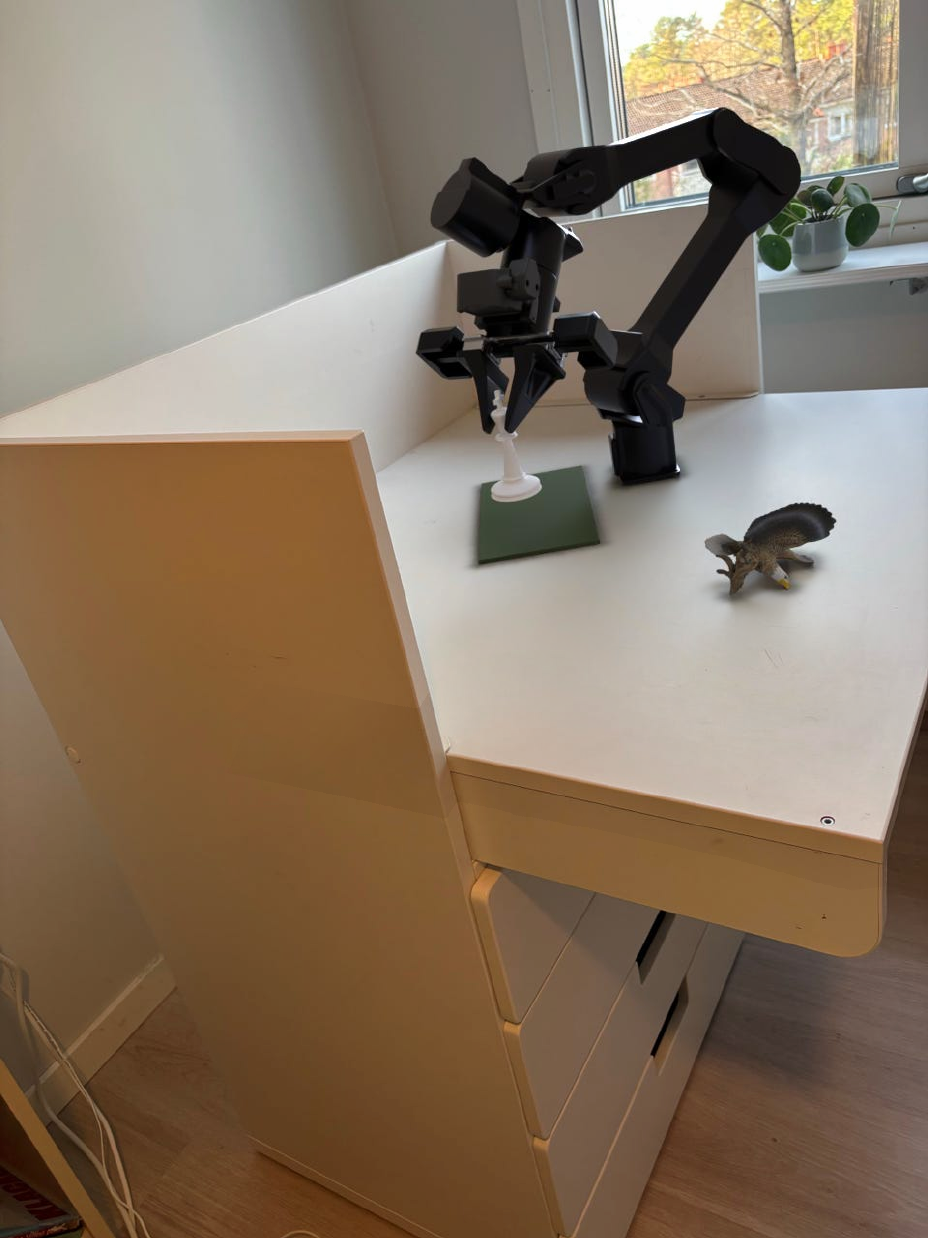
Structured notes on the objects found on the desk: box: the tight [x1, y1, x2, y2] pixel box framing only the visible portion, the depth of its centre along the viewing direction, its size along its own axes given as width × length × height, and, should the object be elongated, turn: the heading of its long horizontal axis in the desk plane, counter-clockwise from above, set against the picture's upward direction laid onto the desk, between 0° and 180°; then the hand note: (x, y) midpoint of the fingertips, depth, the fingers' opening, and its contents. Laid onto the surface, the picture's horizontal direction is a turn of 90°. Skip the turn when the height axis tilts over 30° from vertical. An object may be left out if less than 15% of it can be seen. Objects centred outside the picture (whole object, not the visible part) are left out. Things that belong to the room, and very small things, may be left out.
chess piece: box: [491, 390, 542, 502], centre depth 87 cm, size 5×5×10 cm
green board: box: [477, 465, 601, 565], centre depth 100 cm, size 12×22×1 cm, turn 178°
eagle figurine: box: [703, 502, 838, 597], centre depth 76 cm, size 8×7×9 cm
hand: (497, 432), depth 85 cm, fingers closed on chess piece
